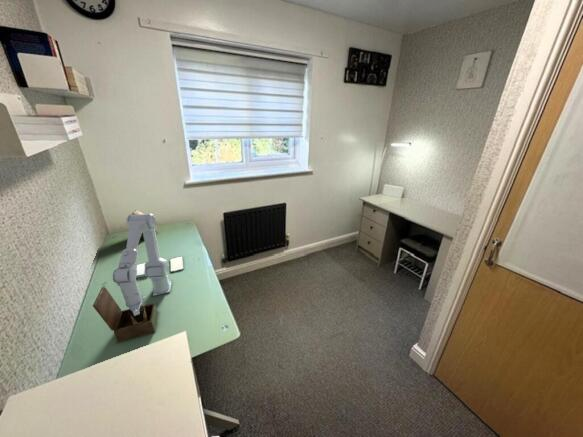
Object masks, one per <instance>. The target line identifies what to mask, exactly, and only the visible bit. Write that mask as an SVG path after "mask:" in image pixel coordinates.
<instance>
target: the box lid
mask: <svg viewBox="0 0 583 437" xmlns="http://www.w3.org/2000/svg"><path fill="white" fill-rule="evenodd" d="M92 307H93V308H94V310H95V311H96V312H97V314H98V315H99V316H100V317H101V319H102V320H103V322H104V323H105V324H106V326H107V327H108V328H109V329H110V331H111V332H114V329H115V326H116V323H117V320H118V318H119V315H120V312H121V311H122V309H121V308H120V305H118V303H117V302H116V300H115V299H114V298H113V296H112V294H111V292H109V290H108V289H107V287H106V286H105V285H103V286H101V288H100V290H99V292H98V294H97V296H96V298H95V300H94V302H93V304H92Z"/></svg>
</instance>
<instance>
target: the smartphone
mask: <svg viewBox="0 0 583 437" xmlns="http://www.w3.org/2000/svg"><path fill="white" fill-rule="evenodd" d="M169 261H170V262H169V263H170V264H169V267H170V273H174V272H179V271H183V270H184V261H183V256H176V257H172V258H170V259H169Z"/></svg>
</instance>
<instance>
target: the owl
mask: <svg viewBox="0 0 583 437" xmlns="http://www.w3.org/2000/svg"><path fill="white" fill-rule="evenodd" d="M131 214H132V215H137V214H144V213H143V212H141V211H139V210H137V209H135V210H134V211H133V212H132V213H131ZM154 229H155V234H156V235H157V234H158V232H159V231H158V230H157V228H154ZM140 239H141V240H144V236H143V233H142V234H141V237H140Z"/></svg>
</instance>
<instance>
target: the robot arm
mask: <svg viewBox="0 0 583 437" xmlns="http://www.w3.org/2000/svg"><path fill="white" fill-rule="evenodd" d="M126 227H127V229H128V234H127V240H126V248H125V249H123V250H122V251H121V255H120V259H119V262H118V266H117V268H115V270H114V271H113V273H112V281H113V282H114V283H115V284H116V285H117V286H118V287H119V288H120V291H121V294H122V297H123V299H124V302H125V306H126V307H127V309H130V310H131V311H128V313H129V316H131V317H133V318H134V319H135V320H136V321H137V322H138V323H139V322H141V321H143V320H144V318H143V313H144V310H145V308H144V306H143V307H141V308H140V306H142V305H143V301H145V300H146V296H145V295H142V294H141V291H140V287H139V285H138V281H137V278H136V276H137V262H138V257H139V251H138V250H137V248H138V246H139V242H140V239H141V238H140V237H141V234H142V233H143V236H144V239H143V240H144V244H145V249H146V250H145V251H146V255H147V259H148V260H147V261H146V262H145V265H144V266H145V271H144V272H145V275H146V276H145V277H146V278H148V279H149V280H151V284H152V287H153V292H152V296H155V297H156V296H159V295H163V294H168V293H171V290H172V289H171V287H172V280H170V278H169V276H168V274H169V272H170V265H169V264H168V261H167V259H165V258H162V257H161V255H160V249H159V244H158V240H157V234H155V229H154V228H156V229H157V228H158V227H157V220H156V216H155V215H154V214H153V213H143V214H137V215H132V213H131V214H128V216H127V217H126Z"/></svg>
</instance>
